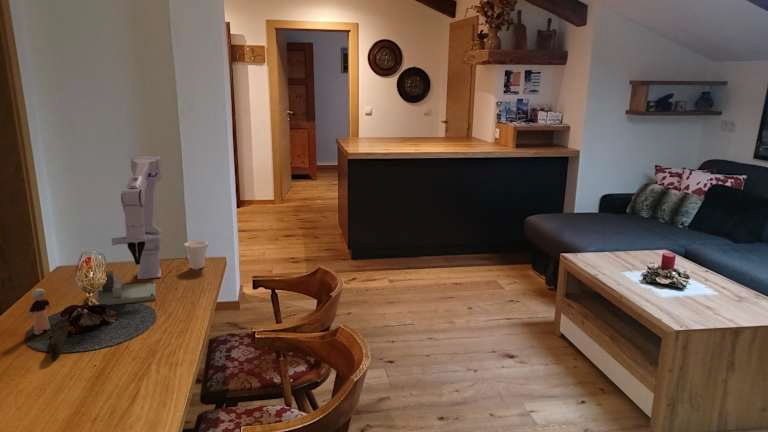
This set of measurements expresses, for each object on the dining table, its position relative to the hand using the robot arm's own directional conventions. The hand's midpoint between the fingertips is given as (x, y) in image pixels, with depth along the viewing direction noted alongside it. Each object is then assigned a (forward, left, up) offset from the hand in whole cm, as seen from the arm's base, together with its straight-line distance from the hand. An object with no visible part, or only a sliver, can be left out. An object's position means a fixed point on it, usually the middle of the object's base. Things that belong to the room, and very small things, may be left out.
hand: (137, 263), depth 187 cm
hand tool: (+36, -19, -10) cm, 42 cm away
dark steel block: (0, -9, -8) cm, 13 cm away
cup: (-20, +20, -10) cm, 30 cm away
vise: (+3, -5, -10) cm, 11 cm away
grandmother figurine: (+24, -25, -10) cm, 36 cm away
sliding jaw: (+3, -6, -8) cm, 11 cm away
